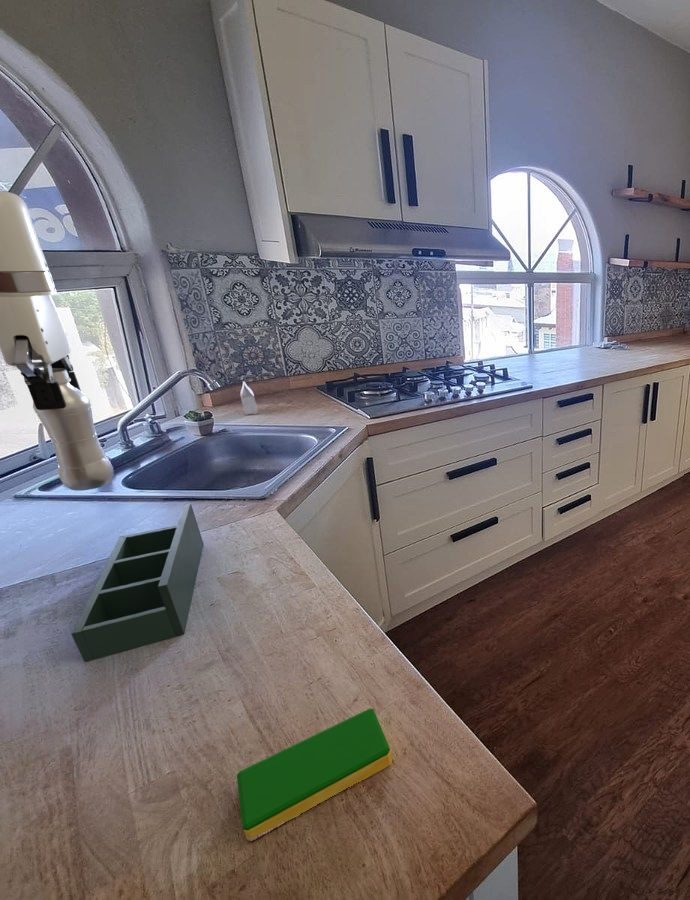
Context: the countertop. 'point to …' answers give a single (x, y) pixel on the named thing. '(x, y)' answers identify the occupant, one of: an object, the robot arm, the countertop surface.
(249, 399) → the white gabled block
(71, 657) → the countertop surface
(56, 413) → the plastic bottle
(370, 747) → the dish sponge
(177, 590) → the box
